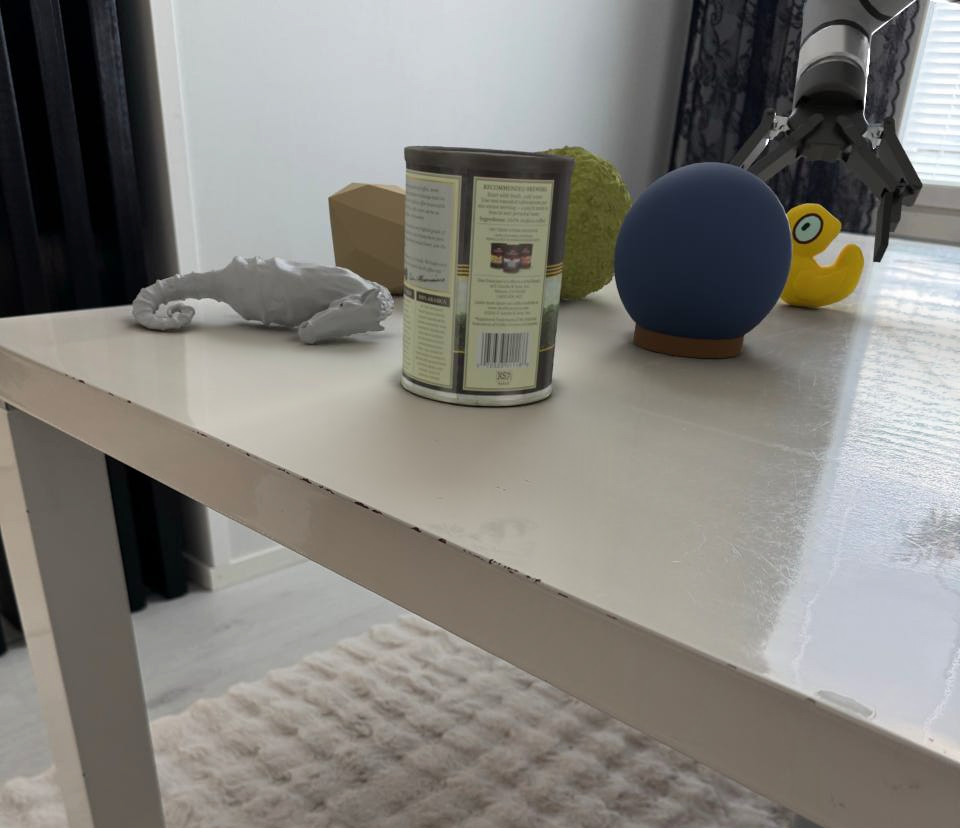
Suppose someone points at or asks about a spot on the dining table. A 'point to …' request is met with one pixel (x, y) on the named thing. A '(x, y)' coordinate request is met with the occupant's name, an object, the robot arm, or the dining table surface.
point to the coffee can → (482, 272)
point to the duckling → (808, 277)
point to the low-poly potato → (370, 232)
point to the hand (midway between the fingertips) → (812, 247)
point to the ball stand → (702, 260)
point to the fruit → (591, 222)
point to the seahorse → (274, 297)
